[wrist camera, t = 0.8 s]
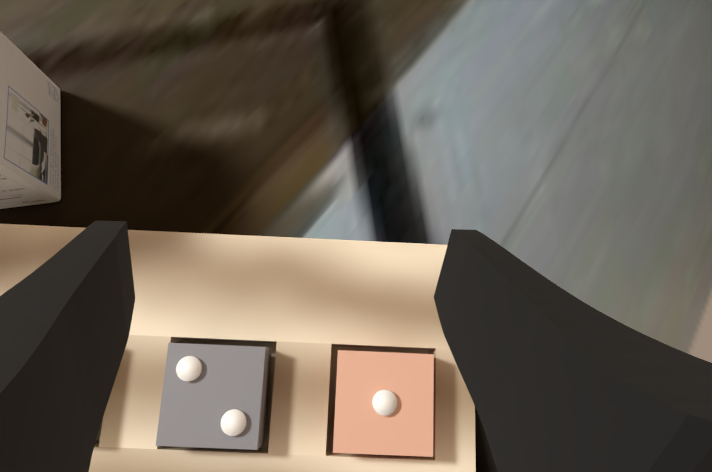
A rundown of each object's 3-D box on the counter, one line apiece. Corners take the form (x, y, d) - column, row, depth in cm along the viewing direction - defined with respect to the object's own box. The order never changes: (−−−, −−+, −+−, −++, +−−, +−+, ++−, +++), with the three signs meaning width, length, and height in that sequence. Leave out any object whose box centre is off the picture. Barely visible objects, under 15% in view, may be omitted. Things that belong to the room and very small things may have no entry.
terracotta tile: (425, 449, 23) (433, 457, 21) (333, 445, 23) (332, 453, 21) (426, 355, 24) (434, 354, 22) (337, 351, 24) (337, 349, 22)
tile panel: (463, 566, 24) (477, 588, 21) (-41, 548, 23) (-84, 568, 21) (461, 256, 27) (473, 246, 25) (21, 236, 27) (-9, 223, 24)
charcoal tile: (264, 443, 23) (256, 450, 21) (171, 439, 23) (153, 446, 21) (271, 348, 24) (264, 346, 22) (182, 344, 24) (166, 342, 22)
